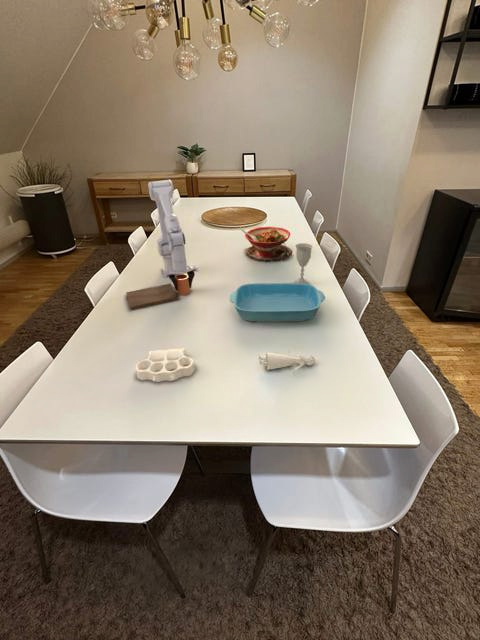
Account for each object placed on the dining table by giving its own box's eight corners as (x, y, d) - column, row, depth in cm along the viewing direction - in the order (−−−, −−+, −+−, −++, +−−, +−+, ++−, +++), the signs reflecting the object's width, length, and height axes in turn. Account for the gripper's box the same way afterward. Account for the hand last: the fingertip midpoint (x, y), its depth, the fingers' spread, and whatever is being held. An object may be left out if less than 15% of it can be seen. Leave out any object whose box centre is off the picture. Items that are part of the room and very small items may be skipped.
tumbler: (176, 290, 156) (173, 275, 152) (188, 287, 158) (186, 272, 153) (179, 296, 151) (176, 280, 147) (191, 293, 153) (189, 278, 149)
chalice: (311, 282, 158) (314, 244, 148) (307, 288, 153) (310, 250, 143) (295, 279, 161) (298, 242, 151) (291, 285, 156) (293, 247, 146)
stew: (233, 260, 182) (231, 230, 174) (249, 244, 201) (248, 217, 192) (284, 267, 173) (285, 236, 164) (296, 249, 191) (297, 221, 183)
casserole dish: (227, 325, 130) (226, 309, 126) (232, 297, 149) (232, 282, 145) (326, 326, 128) (328, 310, 124) (319, 297, 146) (320, 282, 142)
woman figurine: (257, 343, 113) (312, 343, 114) (256, 354, 115) (310, 354, 116) (261, 367, 103) (320, 367, 104) (260, 378, 105) (318, 378, 106)
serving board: (126, 295, 154) (126, 292, 153) (171, 286, 160) (170, 283, 159) (130, 310, 143) (130, 306, 142) (178, 299, 149) (177, 296, 148)
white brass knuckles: (195, 352, 117) (194, 382, 105) (141, 356, 116) (134, 387, 104) (194, 344, 115) (192, 374, 103) (139, 348, 114) (132, 379, 102)
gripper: (164, 266, 141) (169, 295, 148) (198, 260, 145) (201, 288, 152) (160, 260, 146) (165, 288, 154) (193, 254, 151) (197, 282, 158)
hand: (183, 288), depth 153 cm, fingers closed on tumbler, 6 cm apart
